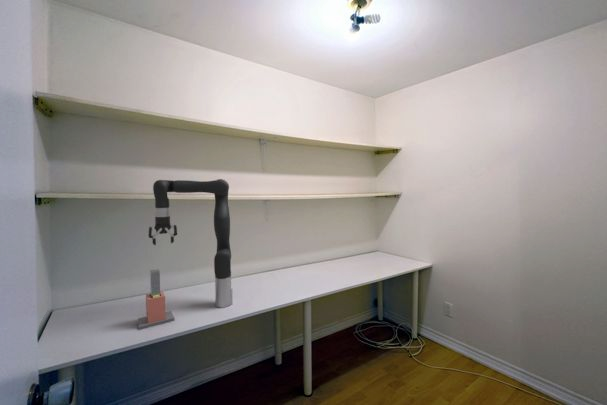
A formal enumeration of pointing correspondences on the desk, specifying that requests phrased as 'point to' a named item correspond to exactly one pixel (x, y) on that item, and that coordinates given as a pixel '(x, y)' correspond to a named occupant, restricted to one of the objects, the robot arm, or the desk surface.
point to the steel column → (154, 282)
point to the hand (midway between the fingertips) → (163, 244)
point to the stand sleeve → (155, 312)
